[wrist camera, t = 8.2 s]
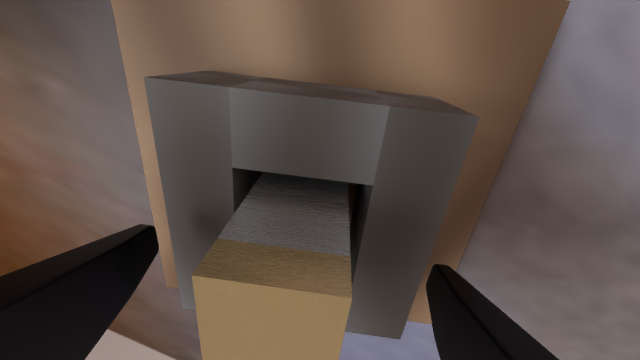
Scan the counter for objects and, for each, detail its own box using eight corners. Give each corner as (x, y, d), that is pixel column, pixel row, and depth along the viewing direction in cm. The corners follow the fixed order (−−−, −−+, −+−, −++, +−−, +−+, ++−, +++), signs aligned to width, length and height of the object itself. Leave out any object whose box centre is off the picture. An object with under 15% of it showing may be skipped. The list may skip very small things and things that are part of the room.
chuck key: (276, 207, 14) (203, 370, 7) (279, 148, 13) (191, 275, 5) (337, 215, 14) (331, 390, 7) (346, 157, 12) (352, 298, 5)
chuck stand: (179, 270, 18) (119, 348, 13) (130, -37, 11) (-40, -111, 6) (426, 304, 18) (458, 399, 13) (541, 8, 11) (713, -34, 6)
